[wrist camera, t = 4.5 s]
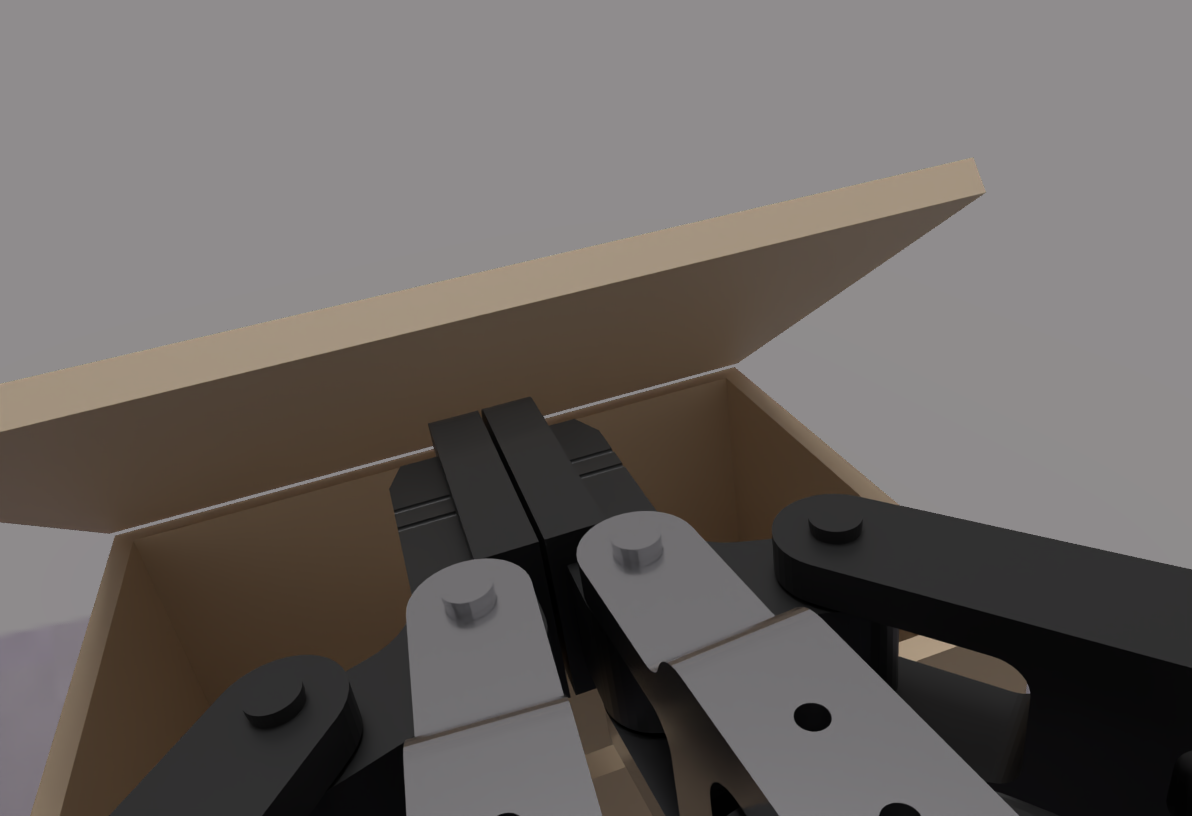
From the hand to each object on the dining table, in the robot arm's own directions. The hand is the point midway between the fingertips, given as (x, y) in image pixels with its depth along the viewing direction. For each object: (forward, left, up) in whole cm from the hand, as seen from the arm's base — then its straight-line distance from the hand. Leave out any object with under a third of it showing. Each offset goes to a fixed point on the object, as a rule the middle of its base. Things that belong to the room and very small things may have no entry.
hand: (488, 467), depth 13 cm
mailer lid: (0, +6, -1) cm, 6 cm away
